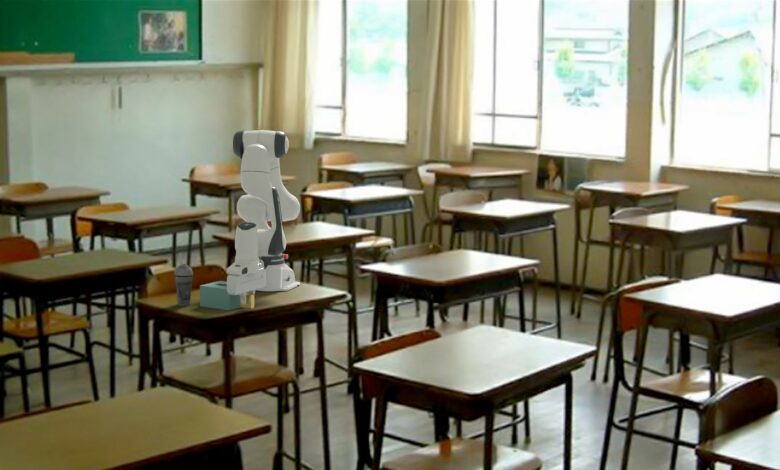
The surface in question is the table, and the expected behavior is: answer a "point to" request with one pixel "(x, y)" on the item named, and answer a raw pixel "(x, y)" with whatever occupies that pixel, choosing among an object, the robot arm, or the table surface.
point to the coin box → (218, 296)
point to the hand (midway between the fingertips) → (247, 302)
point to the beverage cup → (183, 283)
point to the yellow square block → (250, 301)
